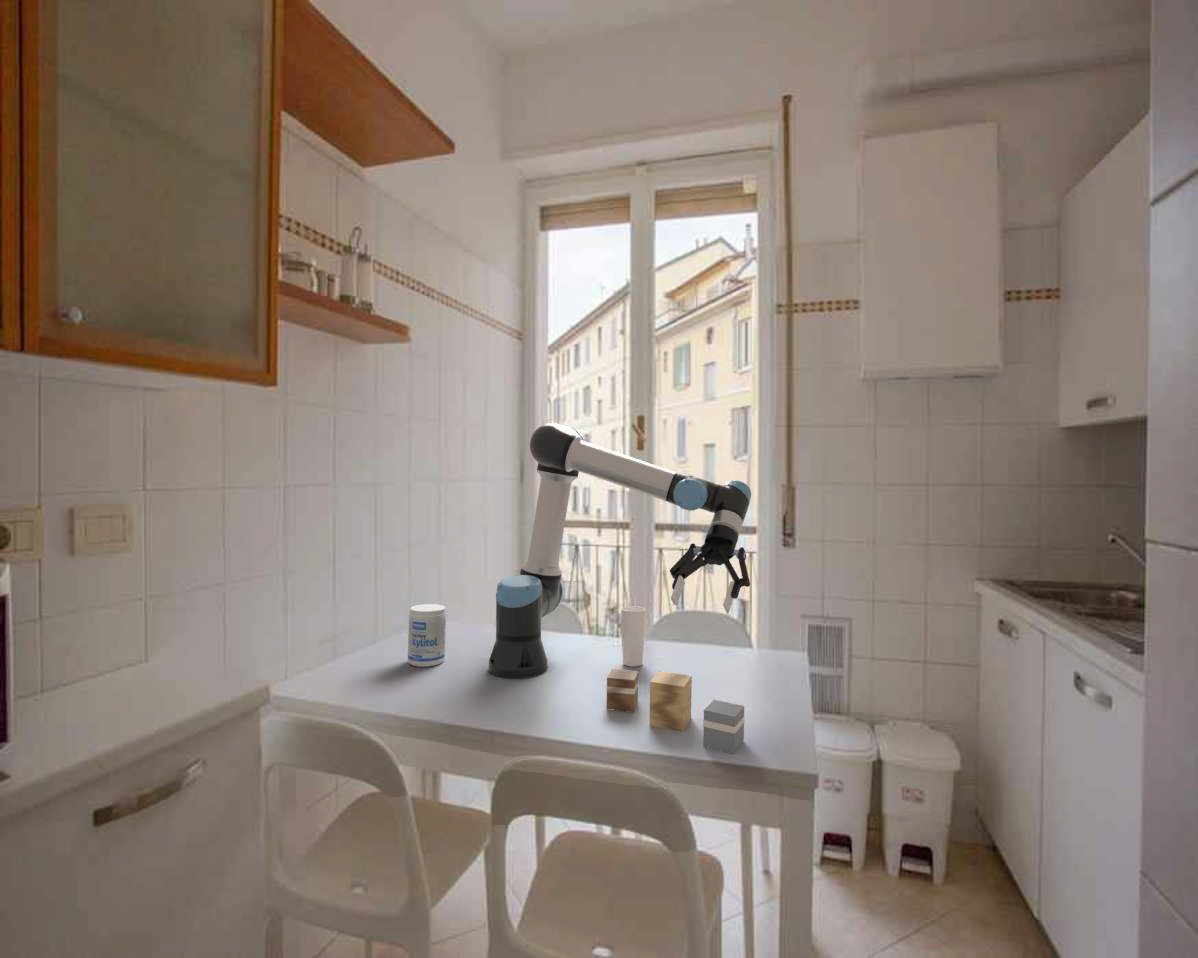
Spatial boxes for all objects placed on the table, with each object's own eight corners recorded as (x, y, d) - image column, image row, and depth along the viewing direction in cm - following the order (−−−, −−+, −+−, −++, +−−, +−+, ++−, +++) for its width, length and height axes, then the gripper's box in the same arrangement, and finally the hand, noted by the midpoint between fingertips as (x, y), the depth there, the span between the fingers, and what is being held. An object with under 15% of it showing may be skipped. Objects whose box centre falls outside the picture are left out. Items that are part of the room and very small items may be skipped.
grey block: (702, 746, 113) (703, 709, 113) (713, 734, 118) (714, 699, 118) (734, 754, 110) (735, 716, 110) (744, 741, 115) (744, 705, 115)
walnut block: (606, 709, 130) (606, 677, 130) (611, 699, 136) (611, 668, 136) (634, 712, 129) (634, 680, 129) (638, 701, 135) (638, 670, 135)
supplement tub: (409, 669, 154) (410, 612, 154) (406, 658, 163) (406, 604, 163) (448, 665, 158) (448, 609, 158) (442, 655, 167) (443, 602, 166)
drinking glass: (637, 670, 156) (638, 612, 156) (615, 665, 160) (616, 609, 160) (649, 663, 162) (650, 607, 162) (627, 658, 166) (628, 604, 165)
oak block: (649, 725, 122) (650, 681, 122) (658, 712, 129) (659, 671, 129) (683, 731, 120) (683, 686, 120) (691, 718, 126) (691, 675, 126)
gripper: (775, 546, 145) (755, 621, 132) (683, 539, 158) (656, 607, 145) (769, 525, 141) (747, 602, 128) (674, 520, 153) (646, 589, 141)
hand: (699, 605), depth 136 cm, fingers open, 12 cm apart
